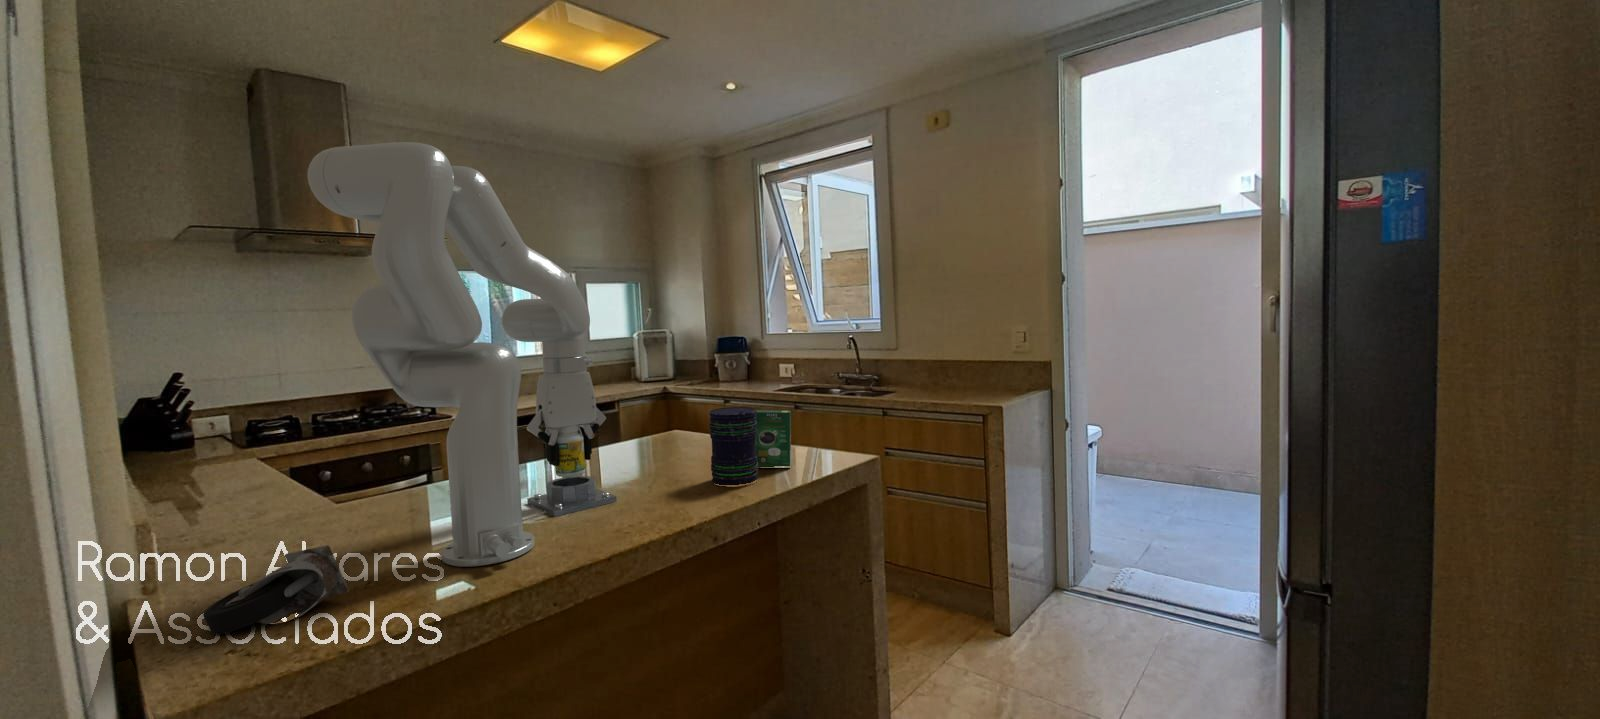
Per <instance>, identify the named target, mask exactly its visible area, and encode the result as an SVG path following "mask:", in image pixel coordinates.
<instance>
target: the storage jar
mask: <svg viewBox="0 0 1600 719" xmlns="http://www.w3.org/2000/svg"><path fill="white" fill-rule="evenodd" d="M756 411H757V409H756V408H753V407H746V406H744V407H743V406H732V407H720V408H714V409H711V410H709V417H710V418H709V436H710V437H709V438H710V439H711V457H710V462H711V464H710V470H711V471H710V472H711V476H712V478H711V483H712V482H713V483H715V484H719V485H739V484H746V483H751V482H753V481H755V480H757V479H758V480H759V476H758V473H759V469H758V462H757V461H758V456H757V454H756V436H757V429H756V428H757V422H756Z"/></svg>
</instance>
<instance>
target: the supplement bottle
mask: <svg viewBox="0 0 1600 719" xmlns="http://www.w3.org/2000/svg"><path fill="white" fill-rule="evenodd" d="M556 444H557V445H558V446H559V460H560V465H559V466H554V468H555V475H556V476H558V478H559V477H560V478H564V477H572V476H582V475H583V474H584V473H585V472H586V460H585V454H584V438H583V435H582V434H581V433H580V430H579V426H576V425H574V426H569V427H566V428H560V429H559V431H558V435H557V438H556Z"/></svg>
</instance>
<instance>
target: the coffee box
mask: <svg viewBox="0 0 1600 719" xmlns="http://www.w3.org/2000/svg"><path fill="white" fill-rule="evenodd" d="M791 412H792V410H764V409H762V410H760V409H759V410H757V409H756V414H755V416H756V422H757V428H756V429H757V436H756V454H757V456H758V461H757V462H758V467H774V466H790V465H791V466H792V446H791V445H792V444H791V443H792V439H791V438H792V435H791V434H792V432H791V431H792V428H791V427H792V414H791Z"/></svg>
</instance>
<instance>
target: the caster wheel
mask: <svg viewBox="0 0 1600 719" xmlns="http://www.w3.org/2000/svg"><path fill="white" fill-rule="evenodd" d="M284 558H285V560H286V562H287V563H285V564H284V565H282V566H280V567H278V568H277V569H275V570H273V571H272V572H270V573H268V574H266V575H265V576H263V577H262V578H260V579H258V580H257V581H255V582H253V583H251V584H248V585H246V586H244V587H242V588H240V589H238V590H235V591H234V592H231V593H229V594H228V595H226V596H224V597H222V598H221V599H219V600H217V601H216V602H215V603H213V604H211V605H210V606H209V607H208V608H206V609H205V610H204V612H203V616H202V617H203V618H204V621H205V622H206V624H207V626H208V629H209V630H210V633H212V634H213V635H225V634H228V633H232V632H235V631H238V630H242V629H243V628H246V627H249V626H250V625H253V624H256V623H258V624H259V623H260V624H263V625H267V624H270V623H276V622H278V621H280V620H281V619H282V618H284V617H286V618H287V617H289V616H290V615H291V614H294V613H296V612H297V614H299V615H298V616H297V617H298V618H299V617H301V616H303V615H304V614H305V613H308V611H309V610H311V609H312V608H314V607H315V606H317V605H318V604H320V603H321V602H322V601H324V600H326V598H328V597H332V596H336V595H342V594H347V593H349V592H350V590H349V587H348V584H347V583H346V581H345V578H344V577H343V574H342V571H341V570H340V567H339V565H338V562H337V560H336V558H335V556H334V554H333V551H332V549H331V547H330V545H327V544H325V545H321V546H316V547H311V548H307V549H302V550H297V551H294V552H289V553H288V552H287V553H286V554H284ZM297 614H296V615H297ZM297 617H295V618H296V619H298V618H297Z"/></svg>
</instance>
